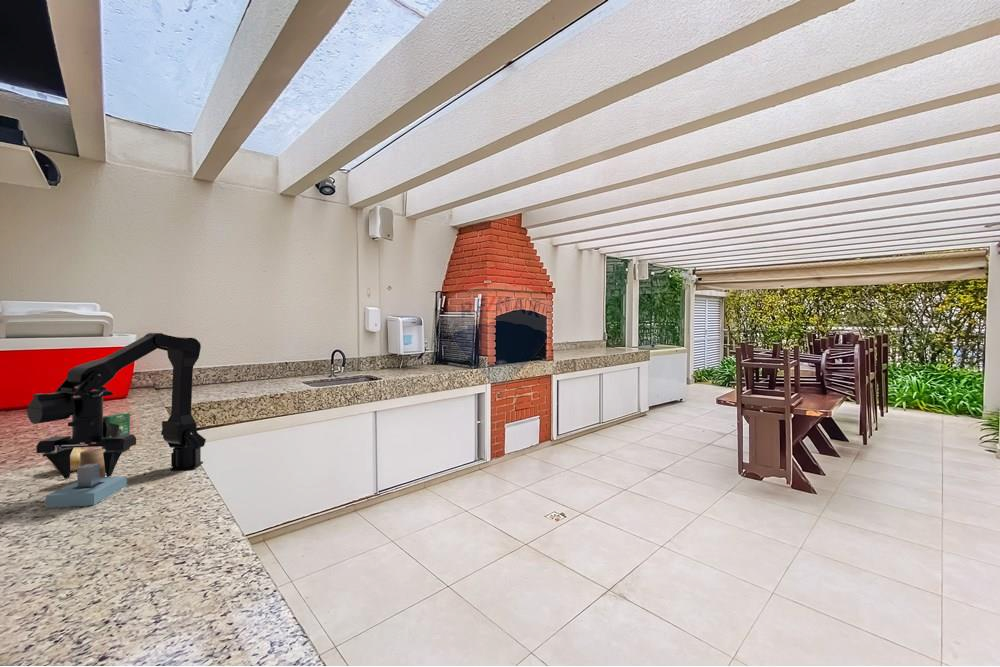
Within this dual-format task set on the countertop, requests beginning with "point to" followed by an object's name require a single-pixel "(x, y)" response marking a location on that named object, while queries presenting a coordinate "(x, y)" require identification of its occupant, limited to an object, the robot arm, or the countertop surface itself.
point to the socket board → (85, 493)
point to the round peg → (93, 459)
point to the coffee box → (119, 423)
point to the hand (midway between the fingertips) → (88, 477)
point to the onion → (74, 459)
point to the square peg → (88, 476)
